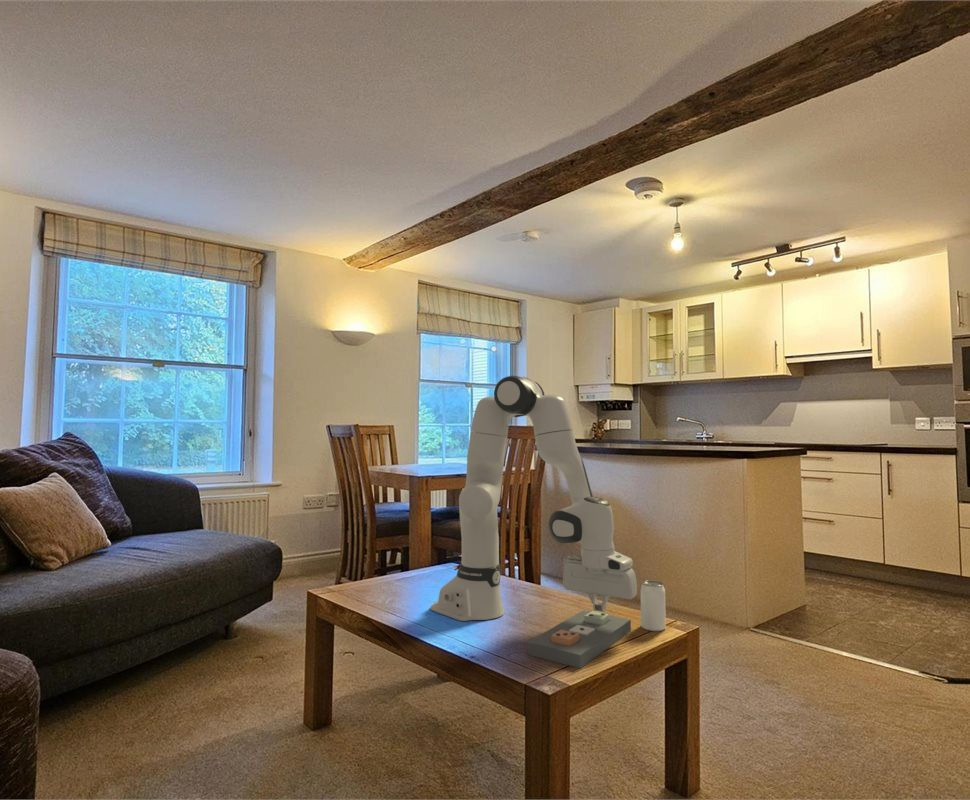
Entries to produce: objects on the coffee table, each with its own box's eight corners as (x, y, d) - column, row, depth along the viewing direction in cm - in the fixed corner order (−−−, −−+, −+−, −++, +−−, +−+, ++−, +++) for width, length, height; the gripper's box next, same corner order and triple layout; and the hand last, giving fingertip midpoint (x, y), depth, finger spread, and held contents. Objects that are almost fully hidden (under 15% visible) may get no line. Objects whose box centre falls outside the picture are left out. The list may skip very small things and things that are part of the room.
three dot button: (551, 647, 142) (551, 634, 142) (561, 641, 146) (561, 628, 146) (569, 652, 139) (569, 638, 139) (579, 646, 143) (579, 632, 143)
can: (646, 622, 165) (646, 578, 165) (669, 627, 161) (668, 582, 161) (636, 628, 160) (636, 583, 160) (659, 633, 156) (659, 587, 156)
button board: (527, 654, 142) (527, 641, 142) (583, 621, 166) (583, 610, 166) (580, 668, 133) (580, 655, 134) (630, 631, 158) (630, 619, 158)
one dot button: (568, 642, 149) (568, 629, 149) (577, 636, 153) (577, 624, 153) (586, 646, 146) (586, 633, 146) (595, 640, 150) (595, 627, 150)
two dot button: (584, 627, 156) (584, 614, 157) (592, 622, 160) (592, 610, 161) (601, 630, 154) (601, 618, 154) (609, 625, 158) (609, 613, 158)
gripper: (558, 556, 161) (559, 607, 161) (629, 565, 150) (631, 620, 149) (568, 552, 166) (569, 601, 166) (638, 560, 155) (640, 613, 154)
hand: (599, 610), depth 157 cm, fingers closed
